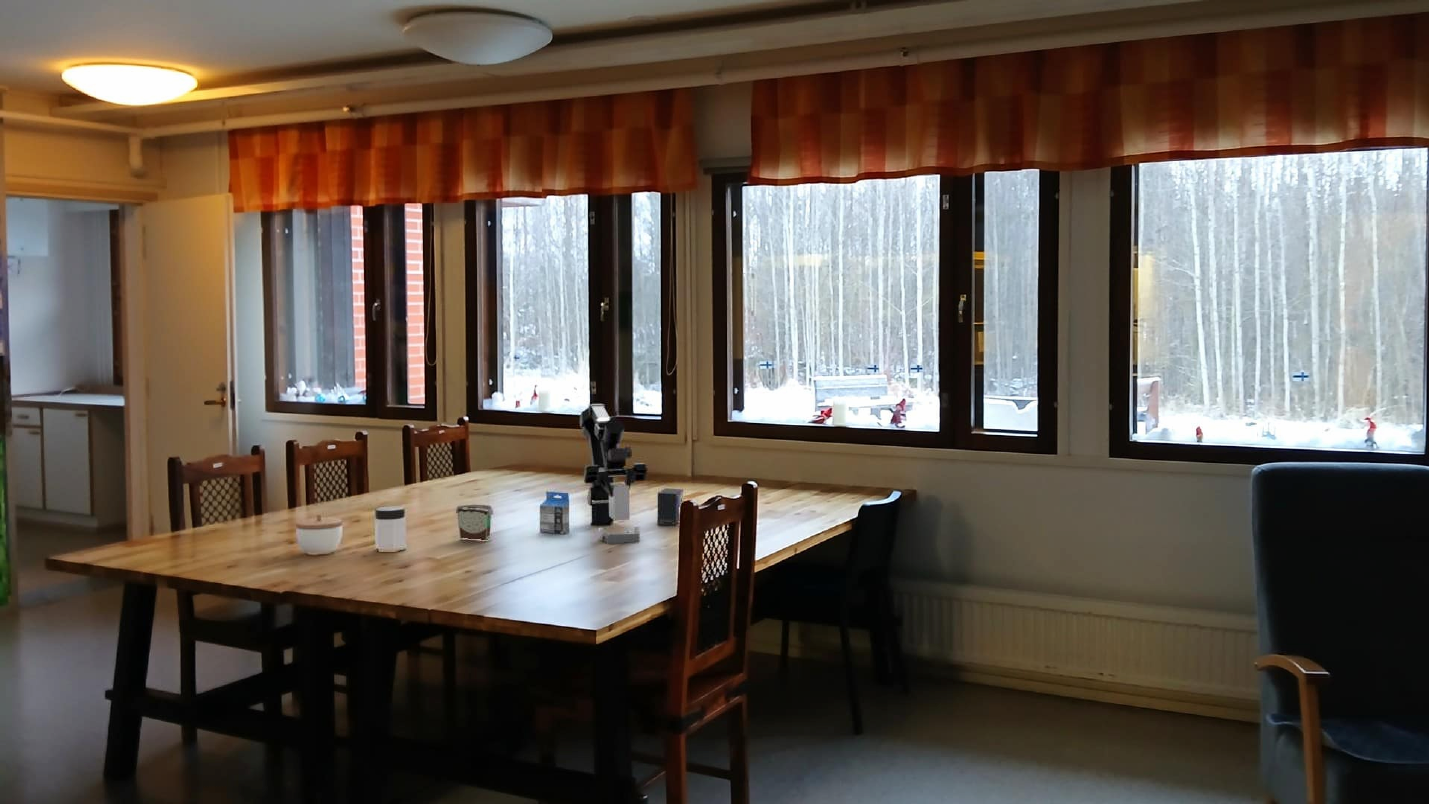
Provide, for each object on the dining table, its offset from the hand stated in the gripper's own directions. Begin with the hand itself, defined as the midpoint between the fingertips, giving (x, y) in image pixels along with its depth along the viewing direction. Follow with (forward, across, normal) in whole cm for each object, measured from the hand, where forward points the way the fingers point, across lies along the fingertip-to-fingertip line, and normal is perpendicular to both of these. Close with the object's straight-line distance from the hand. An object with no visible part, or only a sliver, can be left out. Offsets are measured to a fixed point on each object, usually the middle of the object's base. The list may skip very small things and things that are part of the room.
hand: (619, 495), depth 354 cm
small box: (-7, +21, +26) cm, 34 cm away
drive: (+4, 0, +6) cm, 7 cm away
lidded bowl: (+5, -85, +14) cm, 86 cm away
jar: (+6, -66, +13) cm, 67 cm away
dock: (+8, 0, +10) cm, 13 cm away
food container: (0, -40, +20) cm, 45 cm away
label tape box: (-3, -17, +23) cm, 28 cm away
